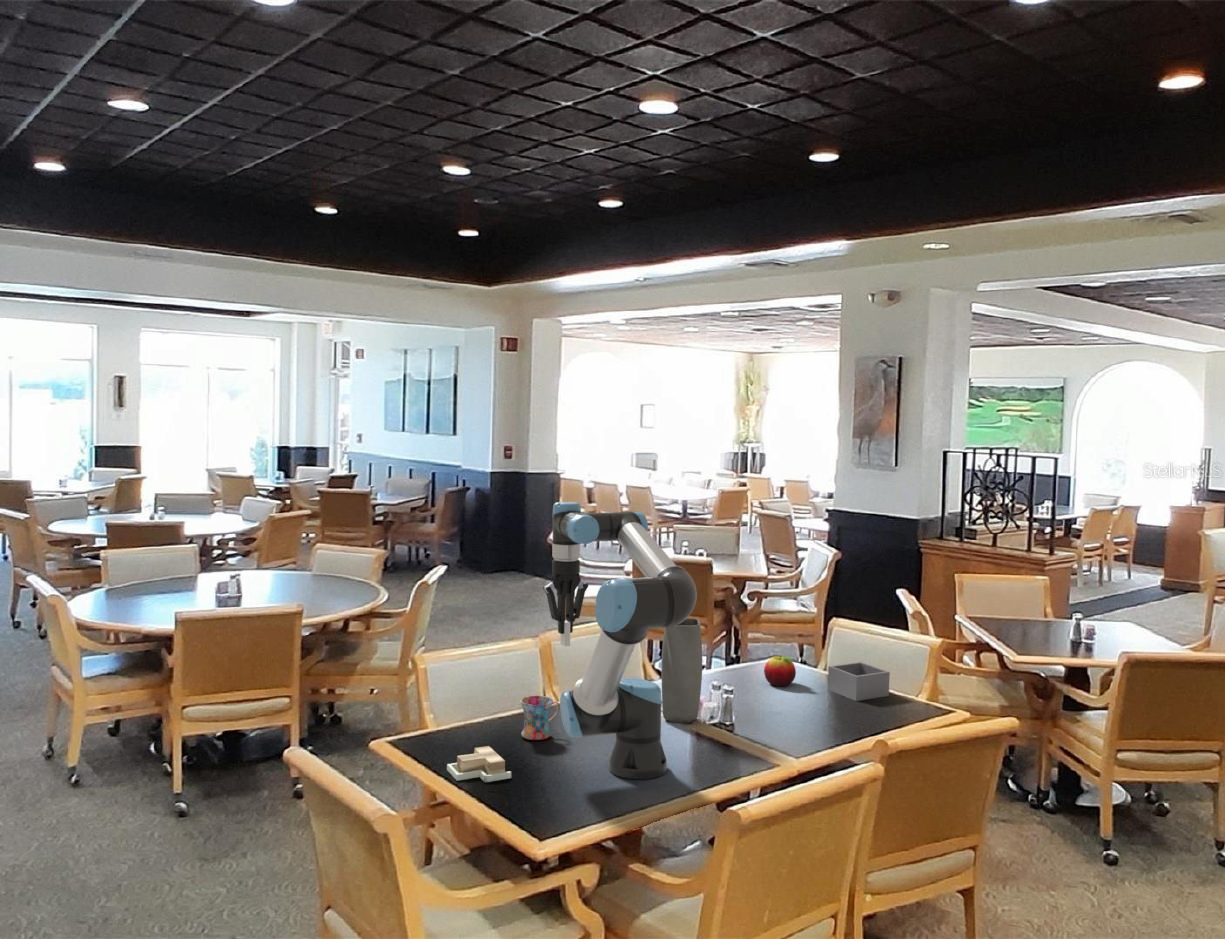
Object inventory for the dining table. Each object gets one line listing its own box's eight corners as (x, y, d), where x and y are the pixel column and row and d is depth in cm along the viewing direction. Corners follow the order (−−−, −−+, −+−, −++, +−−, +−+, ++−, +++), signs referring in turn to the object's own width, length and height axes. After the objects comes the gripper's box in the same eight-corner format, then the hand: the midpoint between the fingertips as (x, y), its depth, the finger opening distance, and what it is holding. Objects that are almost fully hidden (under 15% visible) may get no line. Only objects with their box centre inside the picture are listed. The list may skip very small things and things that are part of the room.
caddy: (888, 695, 325) (889, 672, 325) (855, 701, 319) (856, 676, 318) (860, 685, 338) (860, 662, 337) (827, 689, 331) (828, 666, 331)
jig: (511, 778, 249) (511, 772, 248) (461, 786, 243) (461, 780, 242) (489, 757, 263) (489, 752, 263) (442, 764, 257) (442, 759, 257)
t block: (504, 776, 250) (505, 761, 250) (467, 782, 245) (467, 766, 245) (488, 761, 260) (488, 746, 260) (452, 766, 256) (452, 751, 256)
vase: (656, 724, 292) (658, 624, 290) (664, 712, 304) (666, 616, 302) (697, 728, 289) (699, 627, 287) (703, 715, 301) (705, 618, 299)
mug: (528, 744, 273) (529, 707, 272) (514, 735, 281) (514, 698, 280) (566, 737, 279) (567, 701, 279) (551, 728, 287) (552, 692, 287)
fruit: (777, 678, 344) (778, 650, 344) (802, 685, 336) (803, 656, 335) (757, 683, 338) (757, 654, 337) (781, 690, 329) (782, 661, 329)
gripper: (580, 555, 273) (579, 639, 274) (538, 558, 266) (537, 644, 268) (593, 559, 266) (592, 645, 268) (550, 562, 260) (549, 650, 261)
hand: (565, 645), depth 268 cm, fingers closed
